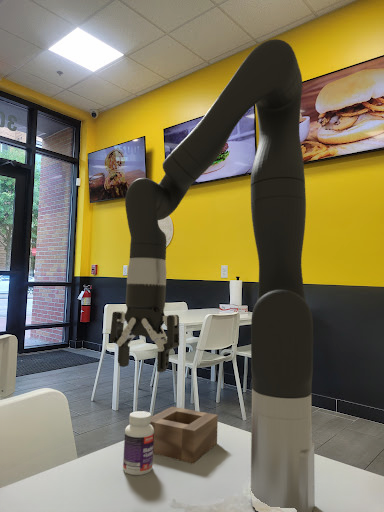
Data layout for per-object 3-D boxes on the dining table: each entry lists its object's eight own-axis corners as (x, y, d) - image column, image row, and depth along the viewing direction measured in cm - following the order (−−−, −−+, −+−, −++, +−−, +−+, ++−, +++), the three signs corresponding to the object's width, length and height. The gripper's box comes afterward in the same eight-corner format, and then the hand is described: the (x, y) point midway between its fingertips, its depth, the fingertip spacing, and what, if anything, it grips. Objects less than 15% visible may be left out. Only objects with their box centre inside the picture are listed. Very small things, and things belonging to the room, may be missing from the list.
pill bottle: (147, 478, 65) (149, 420, 66) (118, 474, 66) (121, 417, 67) (156, 464, 70) (158, 411, 71) (129, 461, 71) (131, 408, 72)
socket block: (217, 443, 81) (217, 414, 82) (193, 463, 71) (194, 430, 72) (171, 433, 87) (172, 406, 87) (142, 450, 76) (144, 420, 77)
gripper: (188, 284, 72) (184, 370, 70) (128, 283, 78) (123, 361, 77) (168, 282, 65) (164, 377, 64) (104, 281, 72) (99, 367, 70)
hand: (142, 368), depth 70 cm, fingers open, 8 cm apart
